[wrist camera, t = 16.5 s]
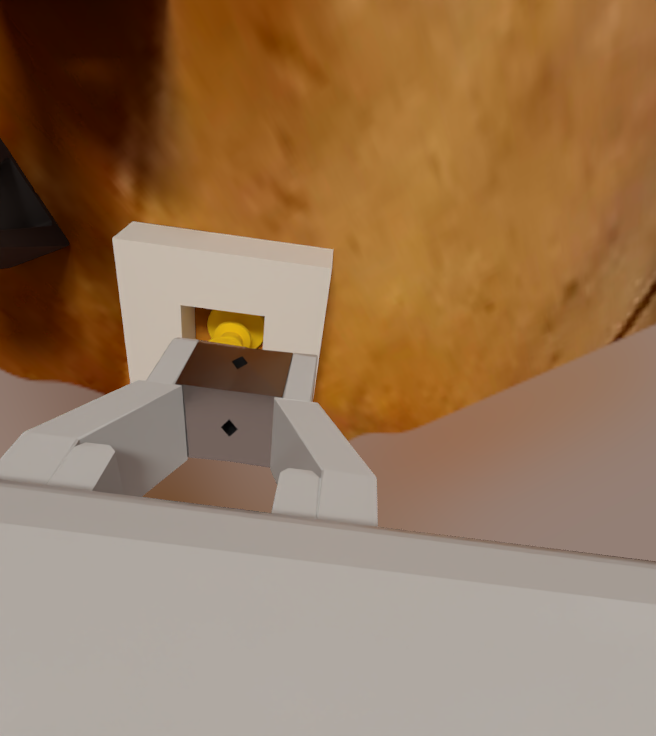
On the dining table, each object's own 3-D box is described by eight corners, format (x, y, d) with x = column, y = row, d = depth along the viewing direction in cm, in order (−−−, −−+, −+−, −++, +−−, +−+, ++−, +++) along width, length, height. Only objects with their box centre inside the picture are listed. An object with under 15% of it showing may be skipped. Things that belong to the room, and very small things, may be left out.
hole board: (333, 249, 38) (331, 268, 35) (311, 403, 47) (308, 430, 44) (132, 221, 38) (112, 238, 34) (148, 383, 47) (133, 409, 43)
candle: (208, 346, 44) (151, 471, 31) (208, 295, 41) (144, 410, 28) (264, 353, 44) (231, 480, 31) (268, 303, 41) (233, 420, 28)
